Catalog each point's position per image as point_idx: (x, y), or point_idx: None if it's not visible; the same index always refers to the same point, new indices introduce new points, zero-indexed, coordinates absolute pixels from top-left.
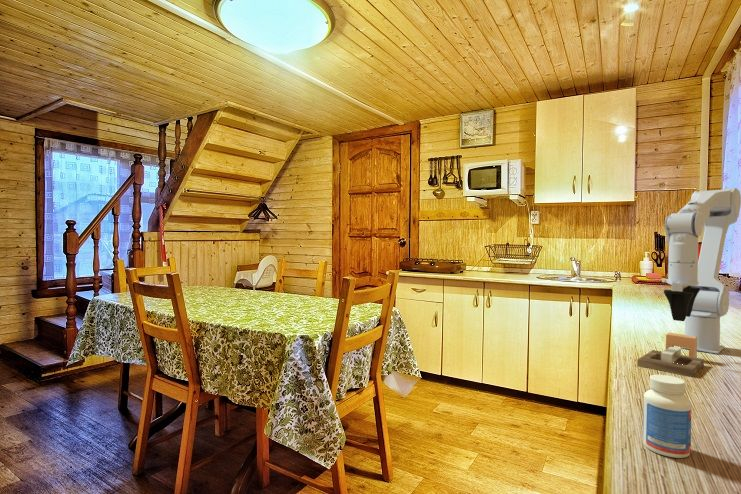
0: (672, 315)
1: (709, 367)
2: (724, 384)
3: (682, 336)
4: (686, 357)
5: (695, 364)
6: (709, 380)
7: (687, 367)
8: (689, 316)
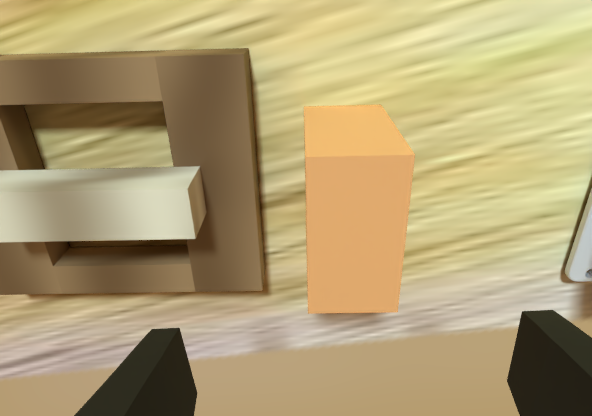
0: (122, 364)
1: None
2: (41, 354)
3: (321, 253)
4: (220, 234)
5: (110, 286)
6: (39, 319)
7: (15, 276)
8: (508, 384)
